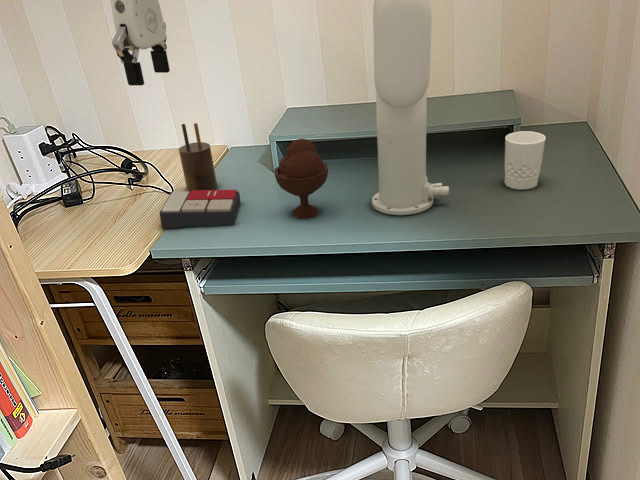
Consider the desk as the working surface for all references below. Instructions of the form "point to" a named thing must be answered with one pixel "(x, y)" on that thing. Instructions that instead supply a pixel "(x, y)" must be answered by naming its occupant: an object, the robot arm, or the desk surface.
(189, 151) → the pencil cup
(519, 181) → the white cup
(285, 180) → the ice cream bowl
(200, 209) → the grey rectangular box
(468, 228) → the desk surface
